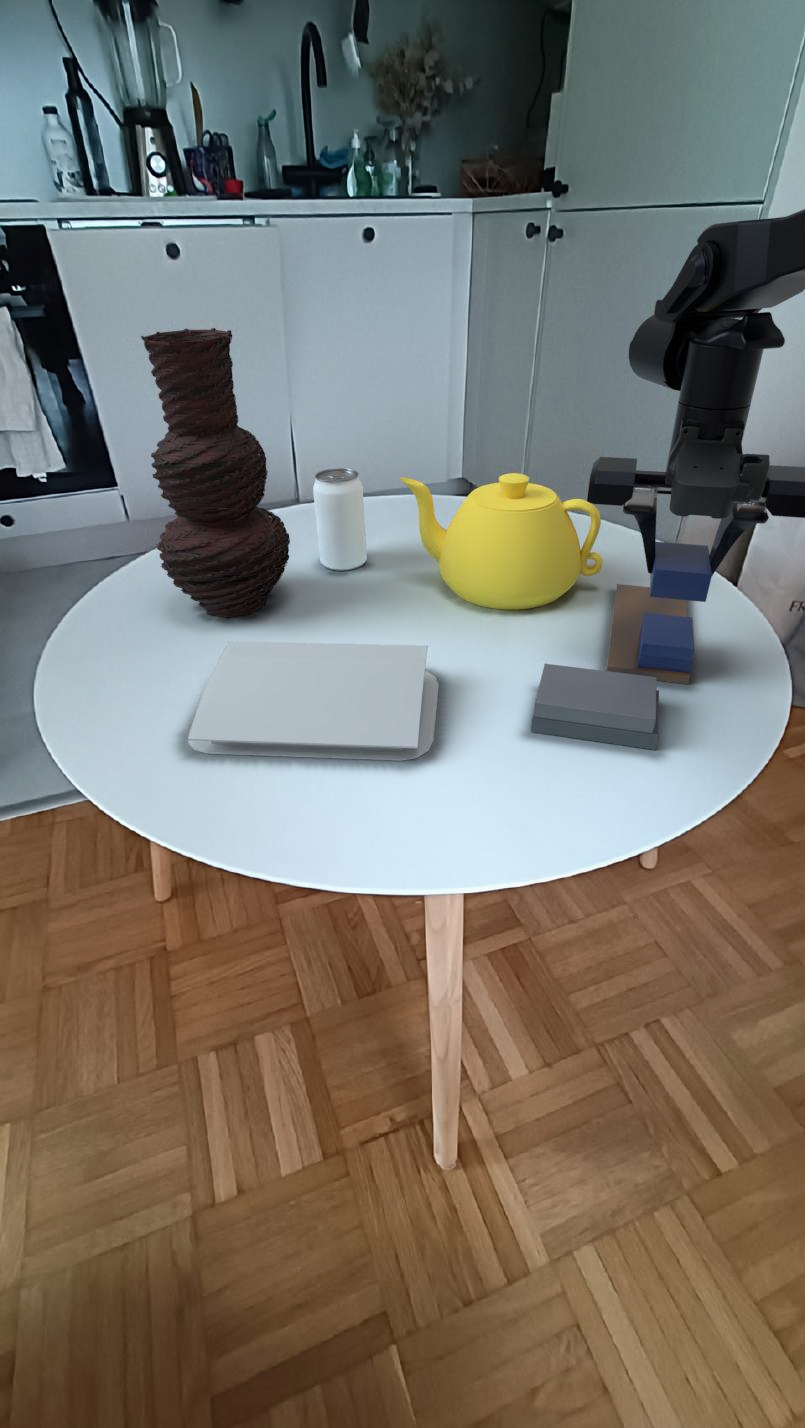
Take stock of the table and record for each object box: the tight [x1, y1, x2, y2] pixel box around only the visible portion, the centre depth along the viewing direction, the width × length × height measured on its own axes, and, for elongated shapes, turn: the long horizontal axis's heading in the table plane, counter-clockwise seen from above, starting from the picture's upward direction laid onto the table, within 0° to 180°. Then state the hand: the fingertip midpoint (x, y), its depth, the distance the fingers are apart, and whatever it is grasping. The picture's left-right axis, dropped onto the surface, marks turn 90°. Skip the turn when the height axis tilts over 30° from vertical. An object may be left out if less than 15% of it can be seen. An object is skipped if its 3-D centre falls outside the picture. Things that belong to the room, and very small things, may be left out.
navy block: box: [649, 541, 713, 603], centre depth 69 cm, size 7×5×3 cm
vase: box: [140, 327, 291, 619], centre depth 81 cm, size 15×15×30 cm
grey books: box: [530, 663, 660, 751], centre depth 67 cm, size 11×8×3 cm
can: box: [312, 467, 368, 572], centre depth 96 cm, size 6×6×12 cm
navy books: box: [638, 613, 695, 674], centre depth 74 cm, size 7×5×3 cm
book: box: [187, 640, 440, 762], centre depth 69 cm, size 15×23×4 cm, turn 85°
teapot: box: [399, 472, 604, 611], centre depth 88 cm, size 25×18×14 cm
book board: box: [605, 583, 691, 685], centre depth 80 cm, size 8×20×1 cm, turn 163°
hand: (678, 574), depth 69 cm, fingers closed on navy block, 5 cm apart
